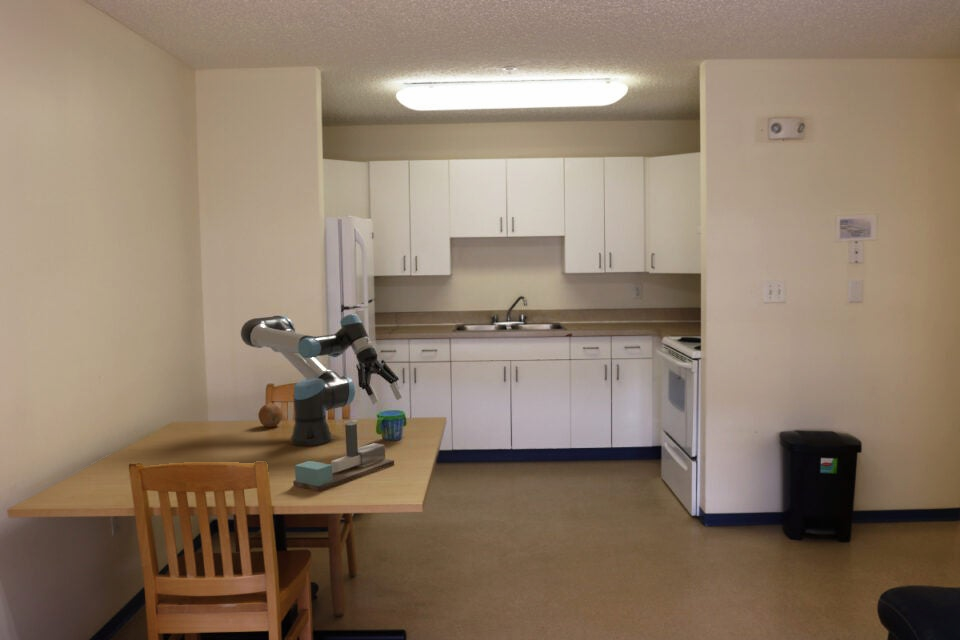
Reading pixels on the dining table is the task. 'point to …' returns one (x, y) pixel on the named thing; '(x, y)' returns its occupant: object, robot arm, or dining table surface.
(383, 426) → the snack cup
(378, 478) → the dining table surface
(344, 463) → the tube
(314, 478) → the socket
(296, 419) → the robot arm
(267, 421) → the brown ball
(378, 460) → the long brown base plank
